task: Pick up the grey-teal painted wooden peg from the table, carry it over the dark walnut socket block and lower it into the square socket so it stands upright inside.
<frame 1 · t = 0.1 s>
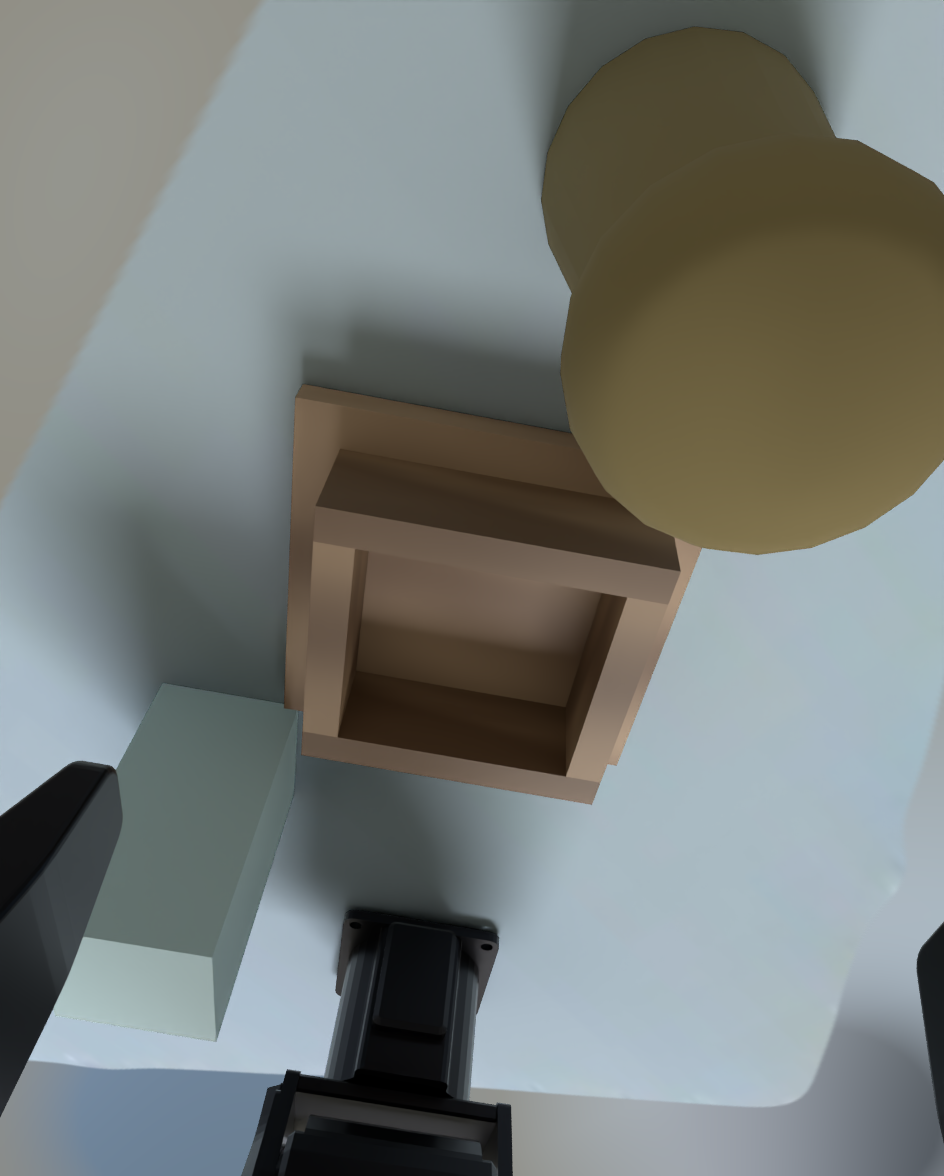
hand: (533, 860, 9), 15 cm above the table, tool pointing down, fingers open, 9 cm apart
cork: (680, 191, 19), on the table
painted peg: (231, 740, 30), on the table
walnut socket: (480, 590, 25), on the table
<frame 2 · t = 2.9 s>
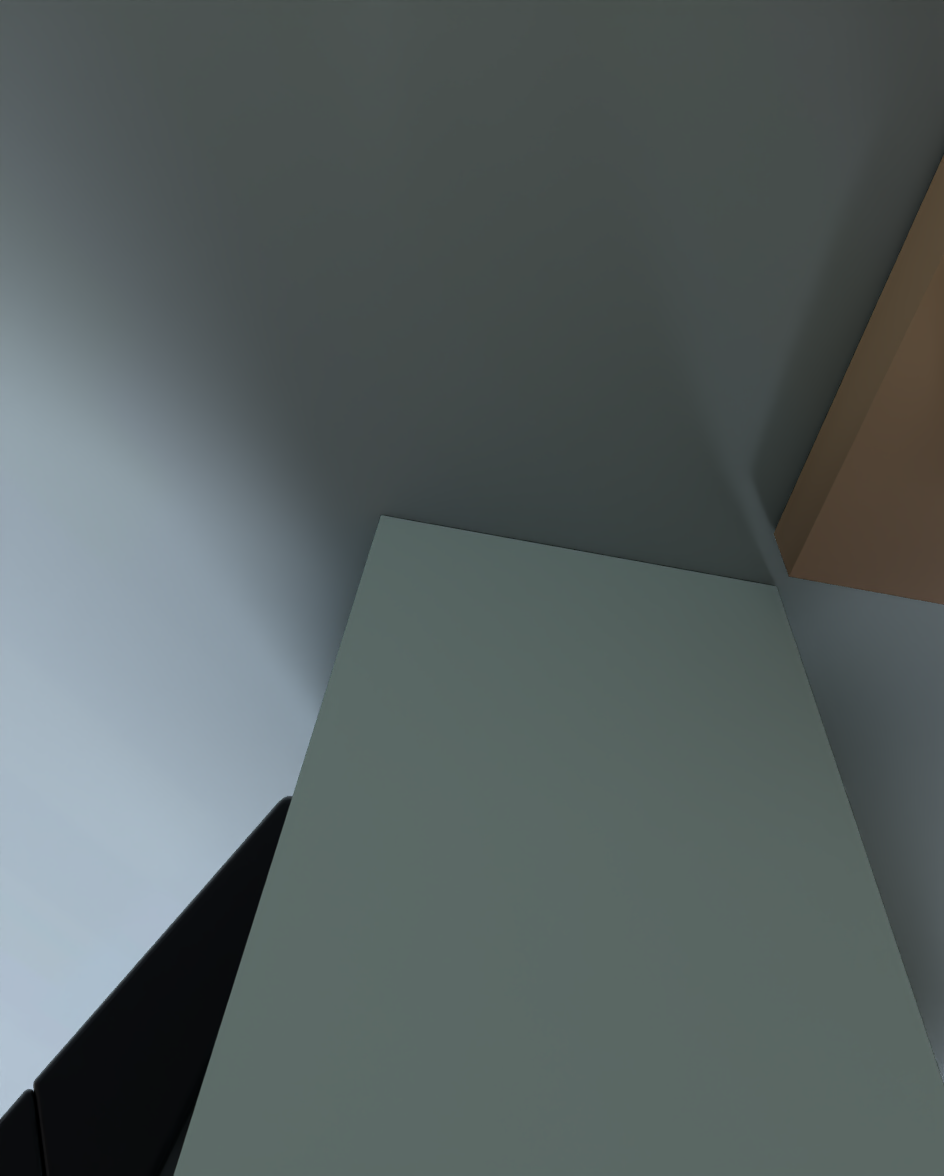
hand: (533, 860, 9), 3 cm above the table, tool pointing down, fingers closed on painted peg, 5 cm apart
painted peg: (538, 694, 11), on the table, touching gripper
when the fingers open (5 cm above the table, at t = 8.7 s): painted peg drops 1 cm, resting on walnut socket.
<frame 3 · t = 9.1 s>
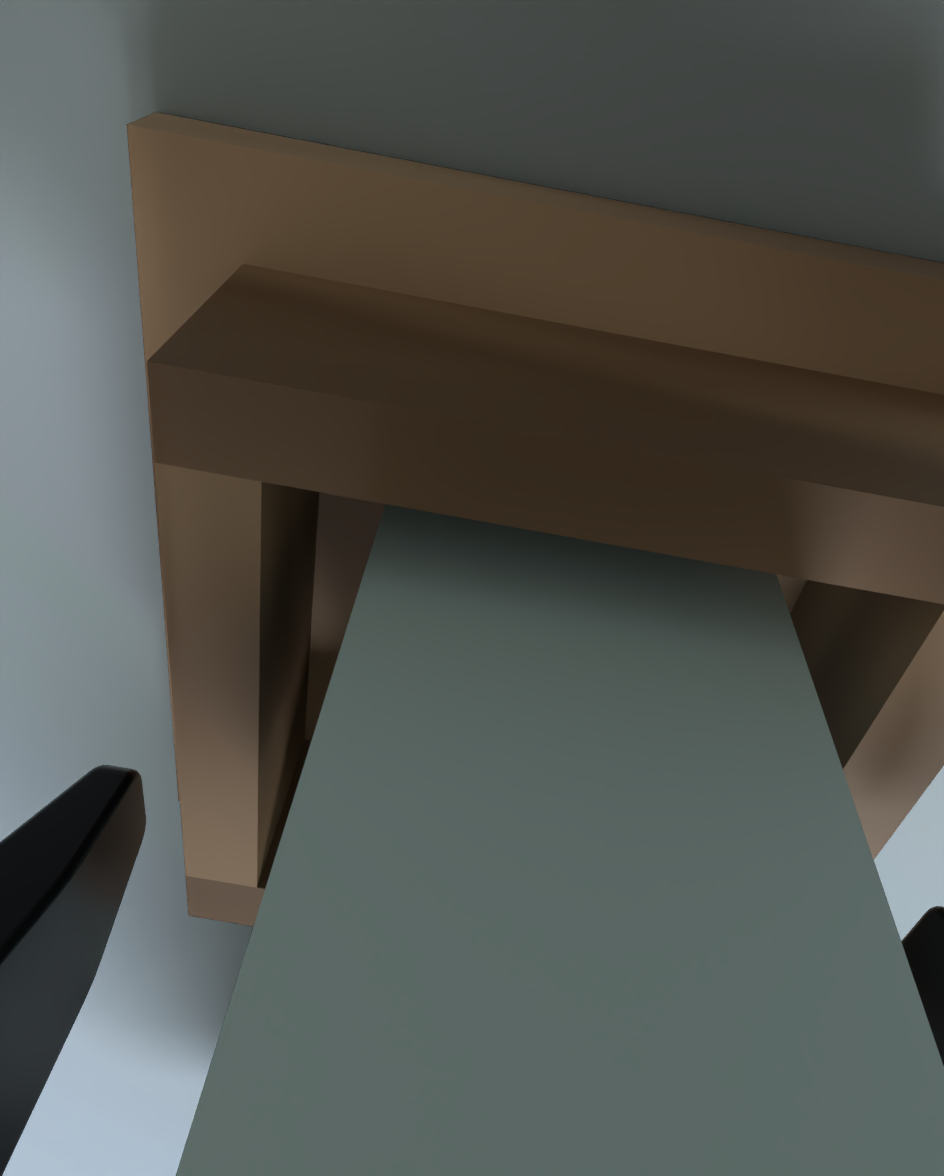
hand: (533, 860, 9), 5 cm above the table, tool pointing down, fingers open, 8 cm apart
painted peg: (543, 622, 12), point 1 cm above the table, touching walnut socket
walnut socket: (542, 588, 13), on the table
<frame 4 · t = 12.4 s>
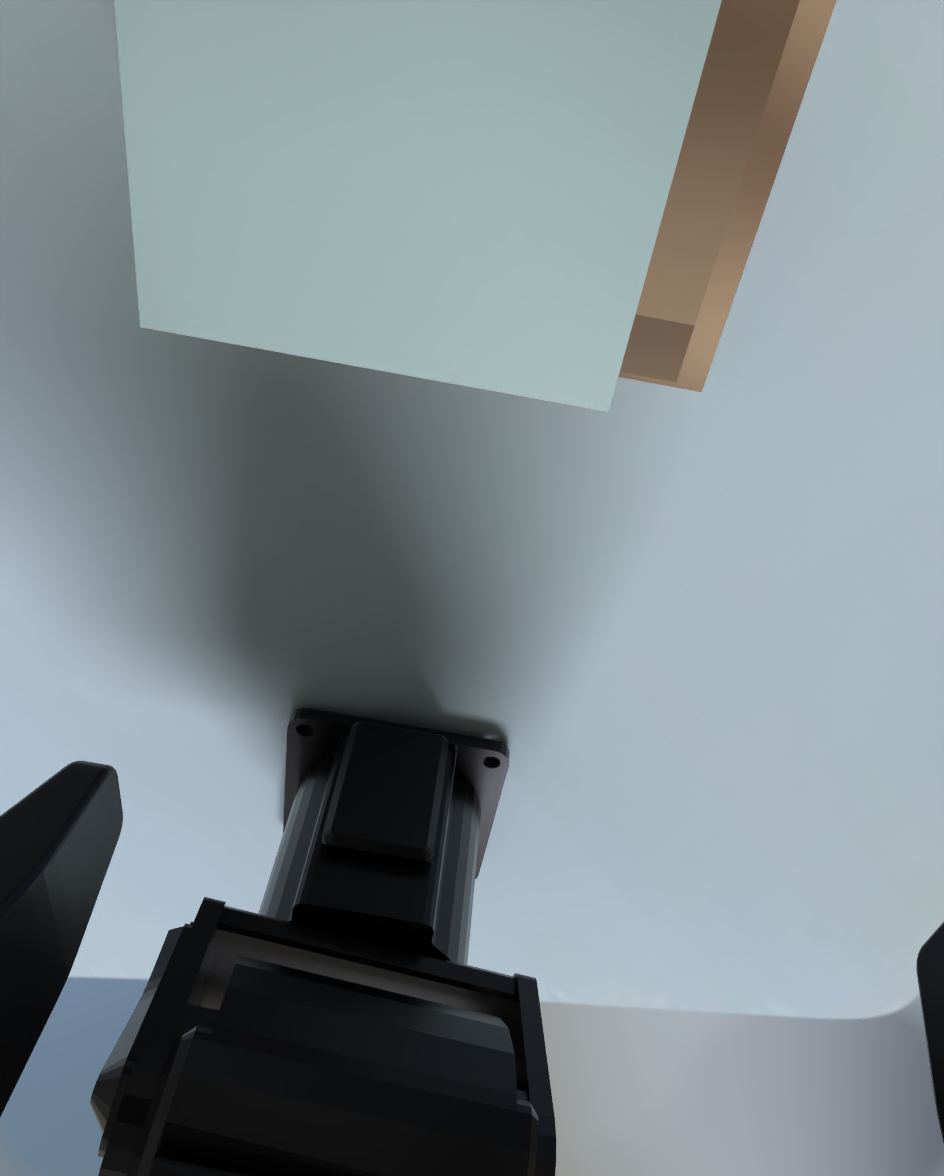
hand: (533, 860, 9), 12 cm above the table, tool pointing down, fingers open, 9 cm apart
painted peg: (481, 22, 14), point 1 cm above the table, touching walnut socket
walnut socket: (484, 19, 15), on the table
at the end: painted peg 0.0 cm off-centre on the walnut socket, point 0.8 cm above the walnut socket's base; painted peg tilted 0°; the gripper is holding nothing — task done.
